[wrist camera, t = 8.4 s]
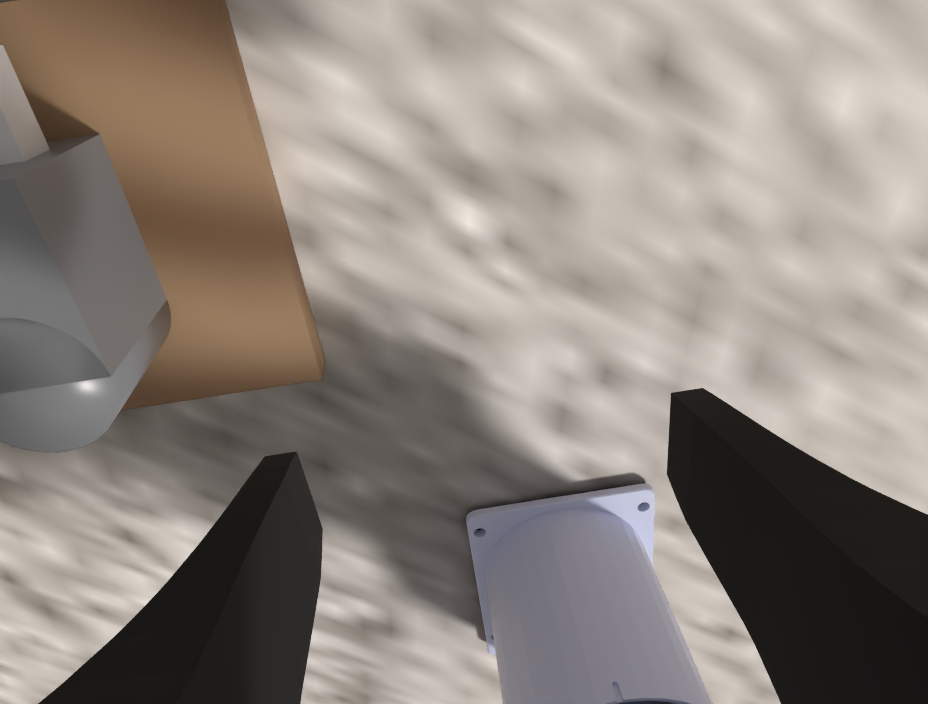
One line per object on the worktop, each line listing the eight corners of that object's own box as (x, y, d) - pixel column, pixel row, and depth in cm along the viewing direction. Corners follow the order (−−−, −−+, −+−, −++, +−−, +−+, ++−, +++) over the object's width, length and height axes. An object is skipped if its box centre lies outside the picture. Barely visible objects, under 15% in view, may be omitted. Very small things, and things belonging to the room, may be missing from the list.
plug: (189, 354, 21) (141, 439, 17) (67, 372, 21) (-9, 462, 17) (60, 35, 16) (-48, 53, 12) (-99, 59, 16) (-258, 84, 12)
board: (325, 361, 23) (321, 379, 22) (-11, 412, 23) (-31, 433, 22) (217, -27, 17) (205, -28, 16) (-244, 40, 17) (-287, 44, 15)
